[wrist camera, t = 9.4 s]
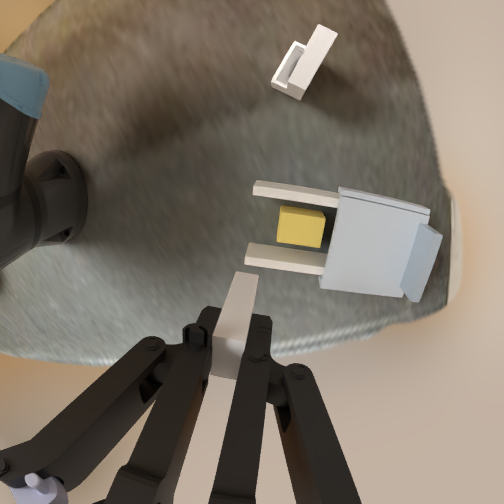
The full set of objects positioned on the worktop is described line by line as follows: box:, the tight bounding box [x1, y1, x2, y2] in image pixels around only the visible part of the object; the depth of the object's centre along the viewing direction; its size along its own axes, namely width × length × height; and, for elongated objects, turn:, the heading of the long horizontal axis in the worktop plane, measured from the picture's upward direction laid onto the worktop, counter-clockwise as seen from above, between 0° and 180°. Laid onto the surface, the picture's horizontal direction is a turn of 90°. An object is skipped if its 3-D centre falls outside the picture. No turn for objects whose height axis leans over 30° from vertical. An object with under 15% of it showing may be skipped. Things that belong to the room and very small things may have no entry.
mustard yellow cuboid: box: [277, 205, 326, 248], centre depth 32 cm, size 5×4×4 cm
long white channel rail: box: [244, 180, 412, 275], centre depth 31 cm, size 20×9×4 cm, turn 83°
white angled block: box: [271, 24, 338, 101], centre depth 23 cm, size 4×10×9 cm
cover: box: [318, 186, 443, 302], centre depth 27 cm, size 11×11×6 cm
